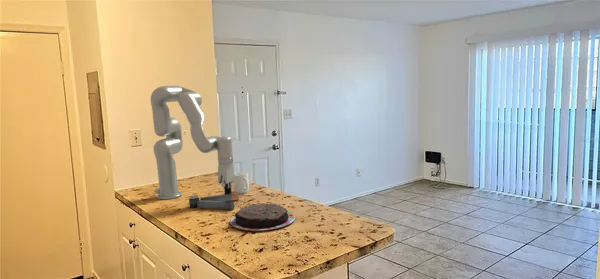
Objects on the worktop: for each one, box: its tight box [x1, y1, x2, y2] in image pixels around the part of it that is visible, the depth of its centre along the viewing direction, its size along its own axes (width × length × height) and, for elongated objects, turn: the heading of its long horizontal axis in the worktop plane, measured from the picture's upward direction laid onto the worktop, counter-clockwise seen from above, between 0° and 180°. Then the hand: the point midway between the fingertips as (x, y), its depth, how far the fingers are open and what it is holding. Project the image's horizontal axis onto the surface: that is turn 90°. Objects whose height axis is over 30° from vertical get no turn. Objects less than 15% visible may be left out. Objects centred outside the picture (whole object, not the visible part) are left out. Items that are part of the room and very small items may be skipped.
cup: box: [232, 171, 250, 194], centre depth 222 cm, size 8×12×10 cm
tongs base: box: [188, 197, 235, 211], centre depth 197 cm, size 24×6×4 cm, turn 73°
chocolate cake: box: [229, 202, 296, 233], centre depth 174 cm, size 28×28×7 cm
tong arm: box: [189, 192, 239, 201], centre depth 203 cm, size 24×5×5 cm, turn 108°
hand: (228, 195), depth 211 cm, fingers closed
